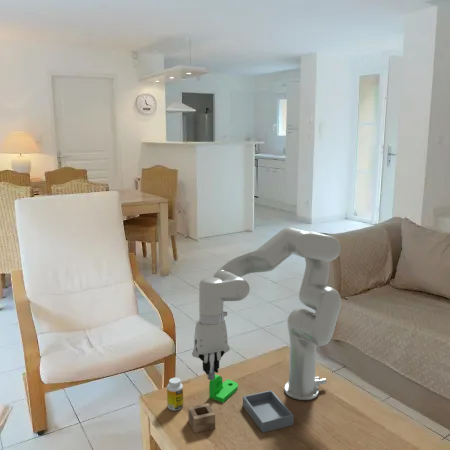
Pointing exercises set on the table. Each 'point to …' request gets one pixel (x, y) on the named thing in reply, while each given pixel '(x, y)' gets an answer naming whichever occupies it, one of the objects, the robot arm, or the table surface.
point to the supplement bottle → (175, 394)
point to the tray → (267, 411)
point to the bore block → (201, 418)
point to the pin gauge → (211, 366)
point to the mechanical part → (221, 388)
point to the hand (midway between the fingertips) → (210, 371)
